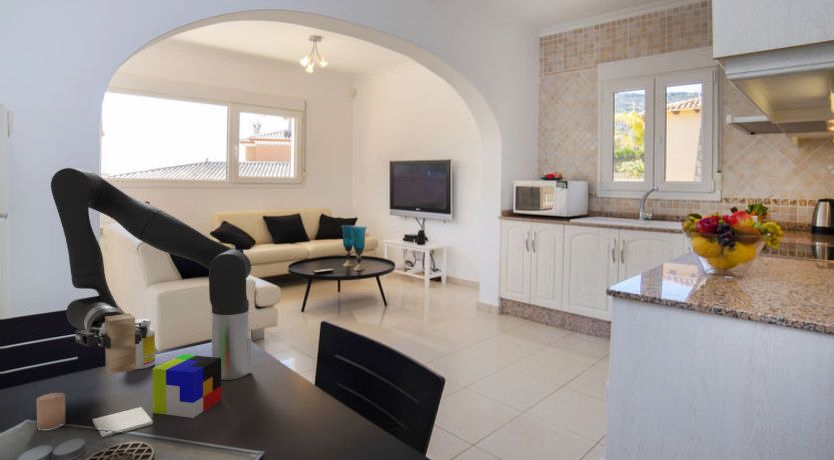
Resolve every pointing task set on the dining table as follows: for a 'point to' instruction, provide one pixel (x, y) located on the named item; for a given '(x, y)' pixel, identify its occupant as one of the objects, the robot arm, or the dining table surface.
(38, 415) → the peach short upright block
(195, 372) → the puzzle toy
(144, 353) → the supplement bottle
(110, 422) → the coaster
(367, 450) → the dining table surface
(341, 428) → the dining table surface
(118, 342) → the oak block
